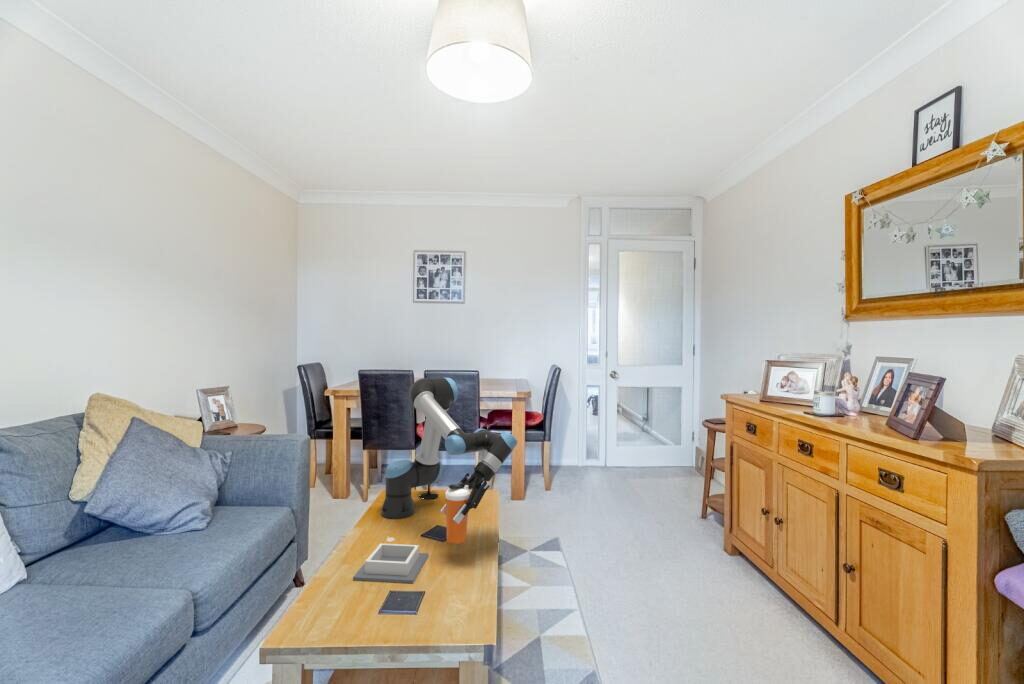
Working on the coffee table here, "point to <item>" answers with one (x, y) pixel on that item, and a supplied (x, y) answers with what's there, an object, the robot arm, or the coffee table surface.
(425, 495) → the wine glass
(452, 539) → the shaker bottle
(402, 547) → the holder
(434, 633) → the coffee table surface
